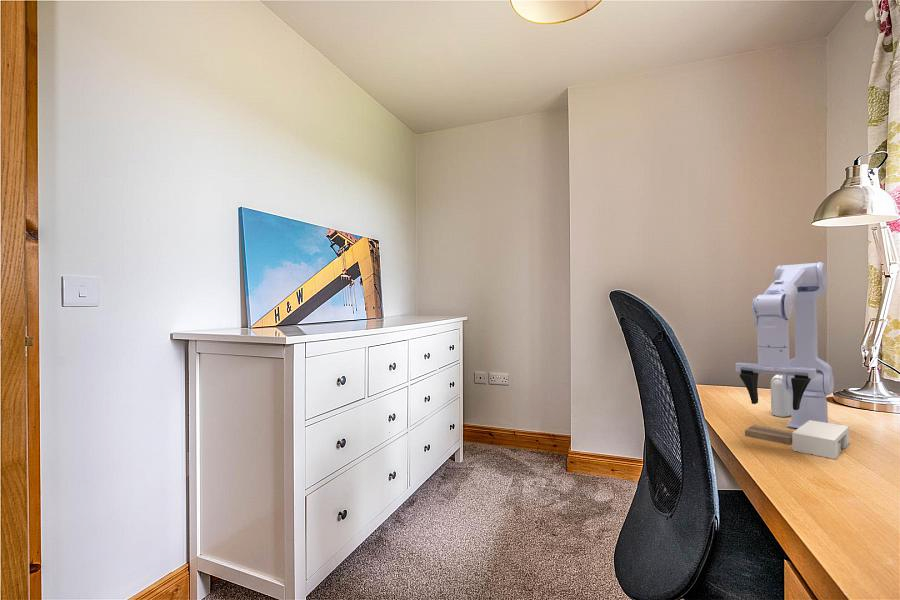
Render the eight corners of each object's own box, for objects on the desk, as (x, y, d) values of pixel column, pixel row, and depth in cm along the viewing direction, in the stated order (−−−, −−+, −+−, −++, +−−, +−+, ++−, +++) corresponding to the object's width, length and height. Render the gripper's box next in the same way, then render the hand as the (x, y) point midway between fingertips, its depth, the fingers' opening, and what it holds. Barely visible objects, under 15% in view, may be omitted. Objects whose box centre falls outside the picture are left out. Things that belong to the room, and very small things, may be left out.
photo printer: (782, 410, 130) (781, 370, 130) (799, 413, 126) (798, 372, 126) (769, 415, 124) (767, 373, 124) (786, 418, 120) (785, 375, 121)
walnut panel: (754, 432, 110) (754, 424, 110) (797, 440, 103) (797, 432, 103) (745, 437, 105) (744, 429, 105) (789, 446, 98) (789, 438, 98)
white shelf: (810, 436, 104) (809, 420, 104) (849, 443, 99) (849, 426, 99) (792, 450, 94) (791, 432, 94) (835, 459, 89) (834, 440, 89)
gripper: (730, 345, 98) (731, 403, 98) (809, 350, 87) (811, 415, 87) (740, 343, 103) (742, 398, 102) (817, 347, 91) (819, 409, 91)
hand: (774, 406), depth 95 cm, fingers open, 7 cm apart
